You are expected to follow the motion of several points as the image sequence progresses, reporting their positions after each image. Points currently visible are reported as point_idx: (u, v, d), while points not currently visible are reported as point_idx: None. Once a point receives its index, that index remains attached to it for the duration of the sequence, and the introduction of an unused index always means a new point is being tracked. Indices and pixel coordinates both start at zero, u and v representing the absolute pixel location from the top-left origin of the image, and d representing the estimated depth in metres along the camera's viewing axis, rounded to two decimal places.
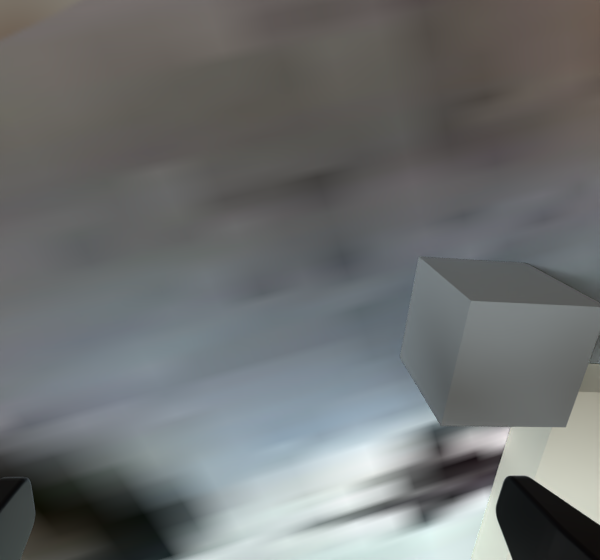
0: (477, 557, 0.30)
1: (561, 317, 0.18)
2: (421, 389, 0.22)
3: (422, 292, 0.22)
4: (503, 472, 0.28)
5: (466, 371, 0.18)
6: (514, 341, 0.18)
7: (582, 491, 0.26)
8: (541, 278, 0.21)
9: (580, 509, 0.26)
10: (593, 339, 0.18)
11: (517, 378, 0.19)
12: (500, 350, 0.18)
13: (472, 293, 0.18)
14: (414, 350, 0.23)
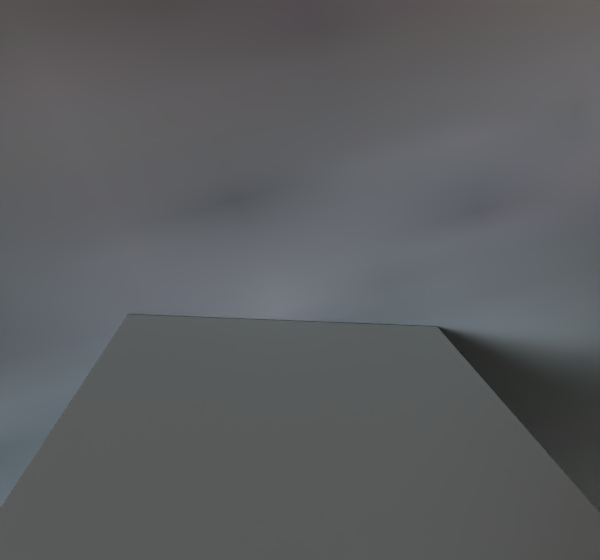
0: None
1: None
2: None
3: None
4: None
5: None
6: None
7: None
8: (457, 406, 0.06)
9: None
10: None
11: None
12: None
13: None
14: None
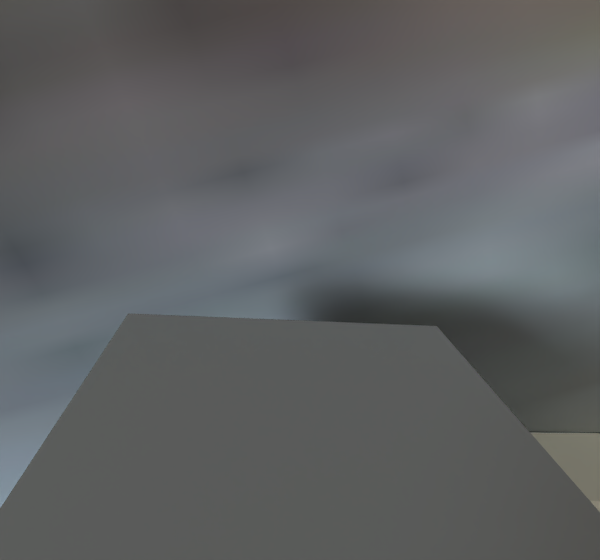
0: None
1: None
2: None
3: None
4: None
5: None
6: None
7: None
8: (456, 405, 0.06)
9: None
10: None
11: None
12: None
13: None
14: None
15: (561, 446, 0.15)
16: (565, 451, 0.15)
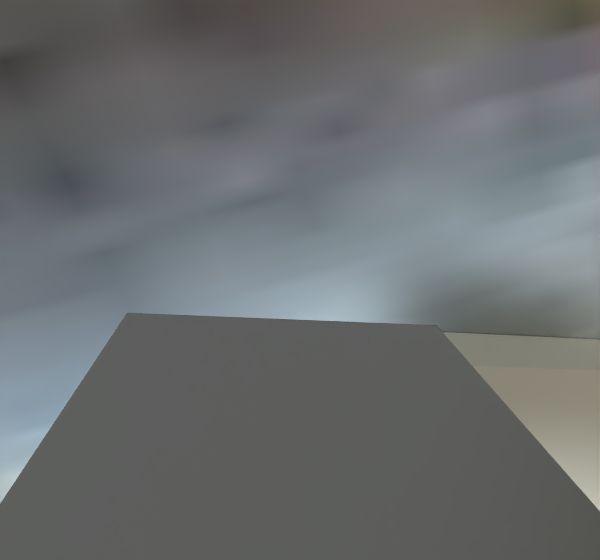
0: None
1: None
2: None
3: None
4: None
5: None
6: None
7: None
8: (456, 405, 0.06)
9: None
10: None
11: None
12: None
13: None
14: None
15: (465, 339, 0.20)
16: (467, 342, 0.20)
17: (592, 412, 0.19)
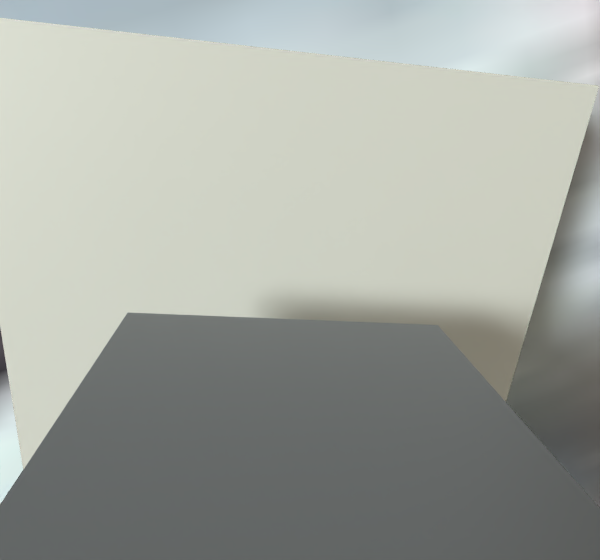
0: None
1: None
2: None
3: None
4: None
5: None
6: None
7: None
8: (458, 404, 0.06)
9: None
10: None
11: None
12: None
13: None
14: None
15: None
16: None
17: (441, 166, 0.10)
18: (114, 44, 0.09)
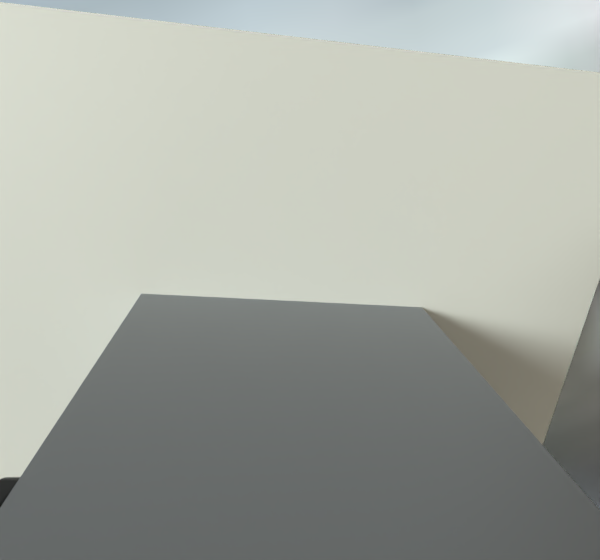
0: None
1: None
2: None
3: None
4: None
5: None
6: None
7: None
8: (433, 370, 0.07)
9: None
10: None
11: None
12: None
13: (52, 503, 0.04)
14: None
15: None
16: None
17: (475, 177, 0.09)
18: (76, 28, 0.07)
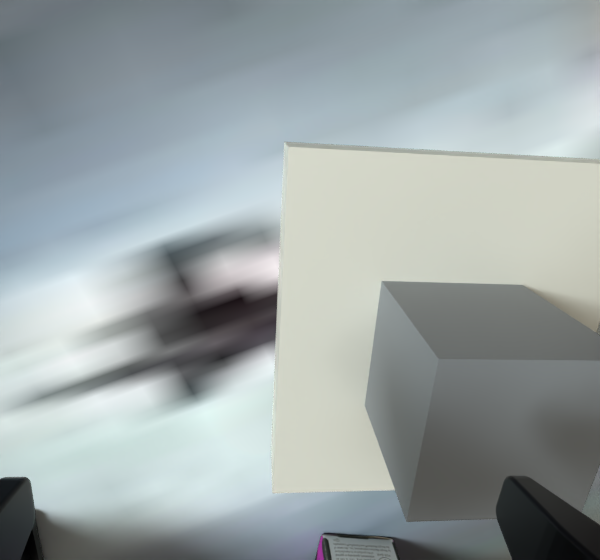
0: None
1: (571, 376, 0.12)
2: (386, 459, 0.16)
3: (386, 330, 0.17)
4: (277, 316, 0.20)
5: (437, 452, 0.13)
6: (504, 411, 0.13)
7: (361, 323, 0.18)
8: (543, 311, 0.16)
9: (364, 351, 0.19)
10: None
11: (509, 459, 0.13)
12: (484, 423, 0.13)
13: (443, 345, 0.13)
14: (379, 404, 0.17)
15: (410, 149, 0.18)
16: (412, 150, 0.18)
17: (553, 217, 0.17)
18: (373, 158, 0.16)
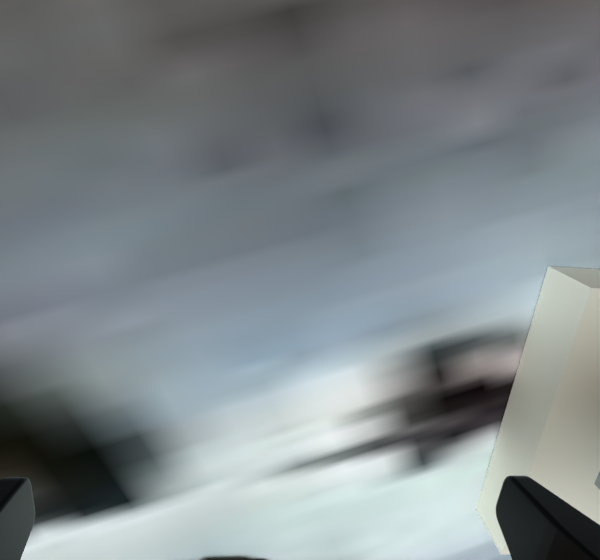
0: (483, 507, 0.26)
1: None
2: None
3: None
4: (515, 403, 0.24)
5: None
6: None
7: None
8: None
9: None
10: None
11: None
12: None
13: None
14: None
15: None
16: None
17: None
18: None
